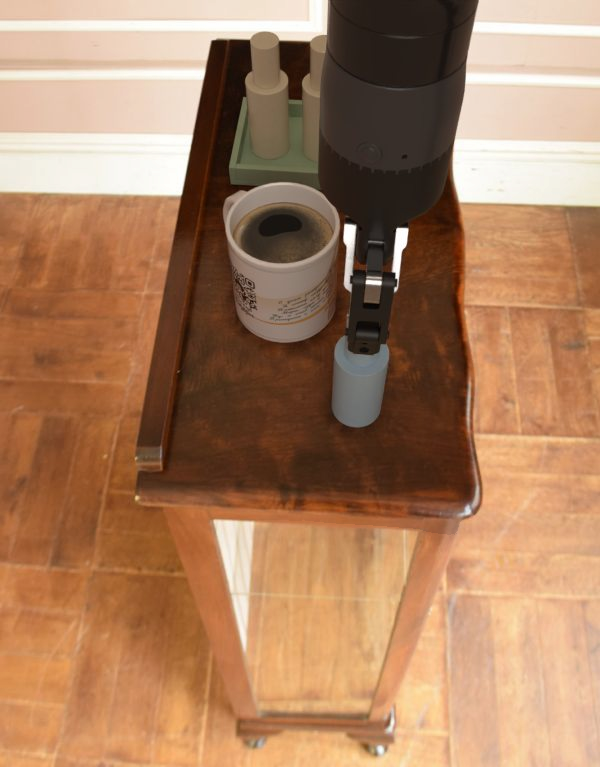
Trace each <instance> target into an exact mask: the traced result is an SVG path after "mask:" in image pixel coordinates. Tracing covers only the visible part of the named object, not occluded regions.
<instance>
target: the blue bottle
mask: <svg viewBox="0 0 600 767" xmlns="http://www.w3.org/2000/svg"><path fill="white" fill-rule="evenodd" d="M348 322H349V319H346V325H345V329H346V328H348ZM389 362H390V348H389V346H388V344H387V343H386V345H385V344H381V345H380V351H379V353H377V354H374V355H361V354H353V353H352V352H350V351H349V350H348V342H347V336H345V334H344V335H343V336H341V337H340V338H339V340H338V341H337V342H336V344H335V347H334V351H333V368H332V369H333V370H332V387H331V388H332V390H331V411H332V413H333V415H334V417H335V418H336V419H337V421H339V423H341V424H342V425H344V426H347V427H351V428H364V427H367V426H369V425H371V424H373V423H374V422H375V421H376V420H377V419H378V417H379V416H380V414H381V410H382V404H383V398H384V392H385V385H386V379H387V374H388V368H389Z"/></svg>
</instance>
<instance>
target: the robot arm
mask: <svg viewBox="0 0 600 767" xmlns="http://www.w3.org/2000/svg"><path fill="white" fill-rule="evenodd" d="M479 2H480V0H327V15H326V16H327V19H326V35H327V42H326V51H325V57H324V62H323V67H322V74H321V84H320V119H319V154H318V180H319V184H320V188H321V190H320V191H321V193H322V194H324V196H325V197H326V199H327V200H328V201H329V202H330V203H331V204H332V205H333V206H334V207H335V208H336V210H337V211H339V212H340V213H342V214H343V215H344V226H343V238H342V241H343V243H344V245H345V246H346V251H345V252H346V253H345V264H344V277H343V286H344V288H345V290H347V291H348V292H349V293H350V298H349V310H347V311H346V318H345V319H346V320H347V319H349V322H348V328H346V327H345V332H344V333H345V334H344V335H345V336H347V342H348V350H349V351H350V352H352V353H353V354H361V355H374V354H377V353H379V351H380V345H381V344H385V345H386V344H387V340H389V338H390V330H389V327H390V321H391V314H392V309H393V308H392V307H393V301H394V295H395V293H397V291H398V290H399V286H400V274H401V265H402V255H403V251H404V250H405V248H406V247H407V245H408V239H409V230H410V221H412V220H415V219H417V218H419V217H421V216H422V215H424V214H426V213H427V212H428V211H430V210H431V209H432V208H433V207H434V206H435V205H436V204H437V202H438V201H439V200H440V198H441V197H442V195H443V192H444V189H445V186H446V182H447V177H448V173H449V169H450V168H449V167H450V164H451V159H452V153H453V149H454V146H455V141H456V140H455V139H456V135H457V130H458V126H459V121H460V117H461V112H462V108H463V103H464V98H465V92H466V80H467V79H466V78H467V62H468V56H469V51H470V46H471V42H472V35H473V31H474V26H475V21H476V17H477V12H478V7H479ZM355 259H356V262H358V263H359V264H360V265H363V266H366V267H365V269H358V268H357V269H355V268H354V265H355V264H354V262H355ZM390 261H391V264H390V271H384V270H383V267H384V266H387V265H388V263H389V262H390Z"/></svg>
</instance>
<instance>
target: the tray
mask: <svg viewBox="0 0 600 767" xmlns="http://www.w3.org/2000/svg"><path fill="white" fill-rule="evenodd" d="M289 126H290V148H289V150H288V152H287V153H286V154H285V155H283V156H282V157H279V158H276V159H263V158H260V157H258V156H256V155H255V154H254V153H253V152H252V150H251V148H250V137H249V124H248V111H247V99H246V96H243V97H242V101H241V107H240V112H239V116H238V121H237V126H236V131H235V136H234V140H233V145H232V150H231V155H230V159H229V165H228V173H229V180H230V181H229V182H230V185H237V186H253V187H259V186H261V185H265V184H269V183H277V182H291V183H298V184H302V185H306V186H309V187H311V188H314V189H316V190H317V191H322V190H321V188H320V184H319V180H318V162H314V161H312V160H310V159H308V158H307V157H306V156H305V155H304V153H303V150H302V99H289Z"/></svg>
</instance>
